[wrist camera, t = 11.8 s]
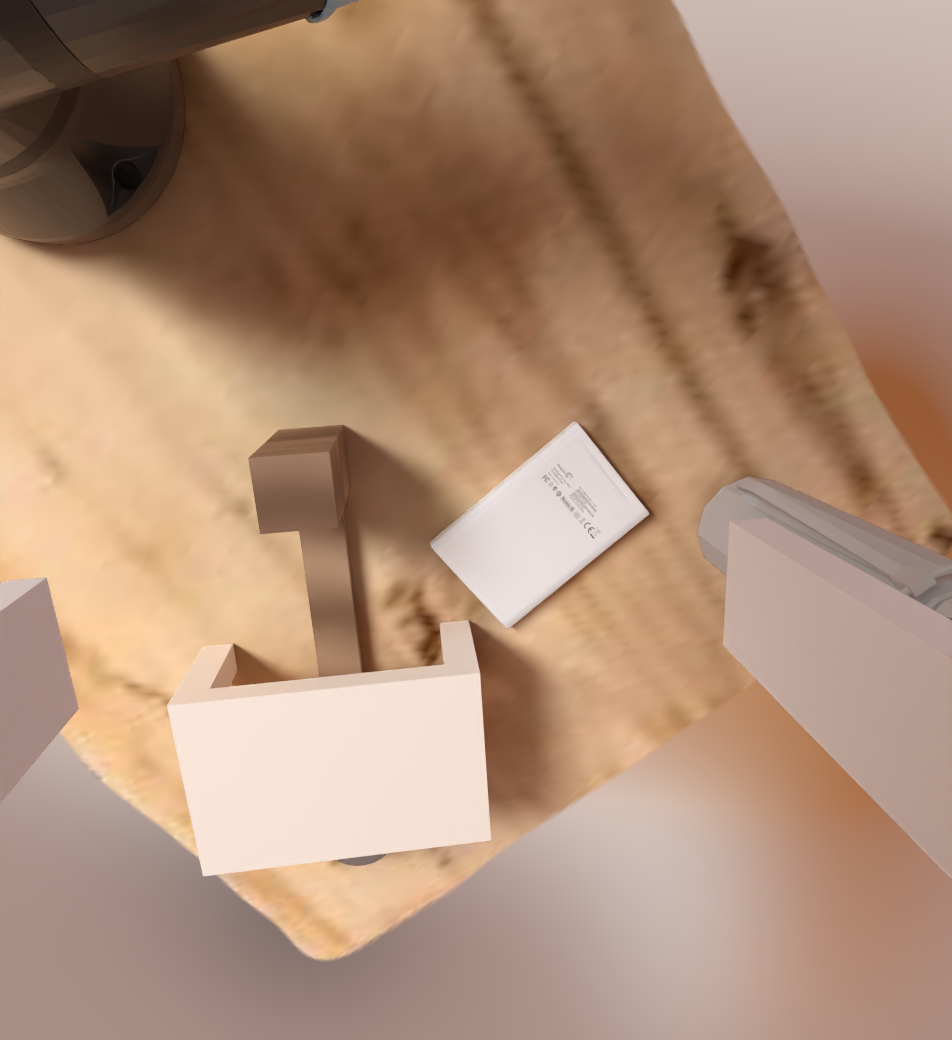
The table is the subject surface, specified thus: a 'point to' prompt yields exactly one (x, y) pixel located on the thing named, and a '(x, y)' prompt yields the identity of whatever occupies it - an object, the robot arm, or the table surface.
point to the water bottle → (828, 538)
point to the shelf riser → (332, 760)
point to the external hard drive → (539, 526)
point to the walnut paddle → (314, 531)
